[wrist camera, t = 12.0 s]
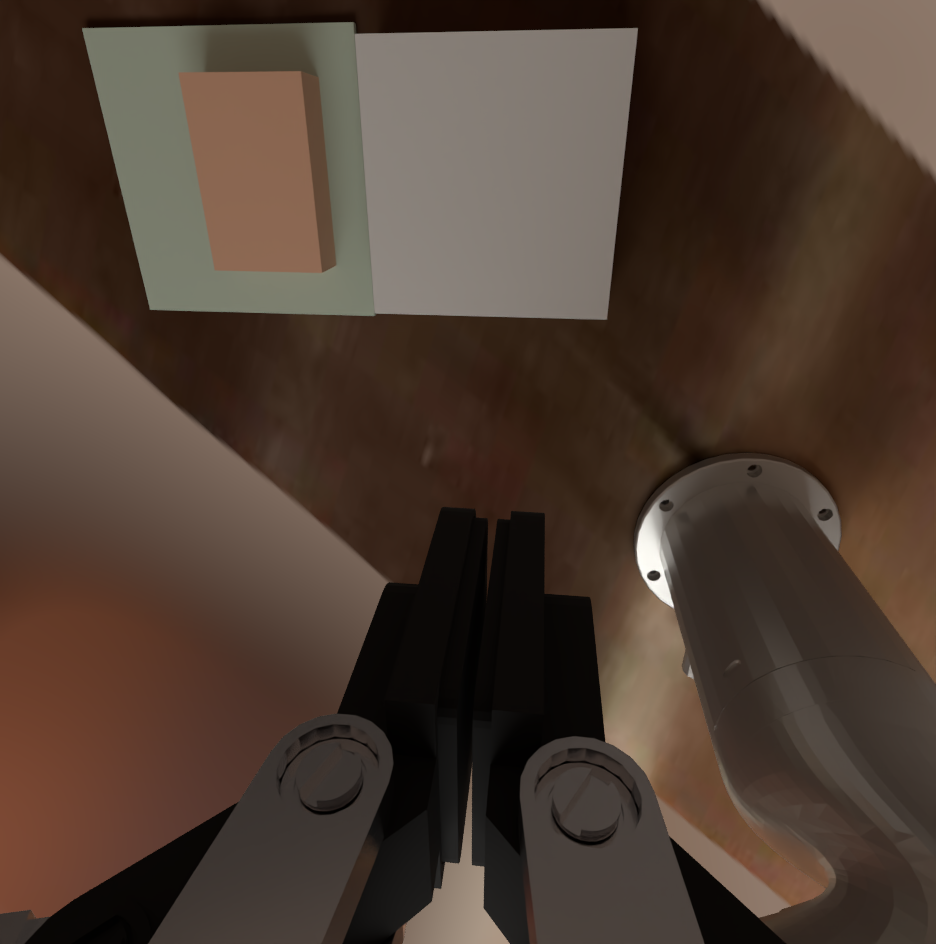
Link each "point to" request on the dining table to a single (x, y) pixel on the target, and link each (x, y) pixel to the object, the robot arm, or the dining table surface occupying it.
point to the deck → (494, 169)
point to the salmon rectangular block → (261, 169)
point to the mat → (174, 172)
